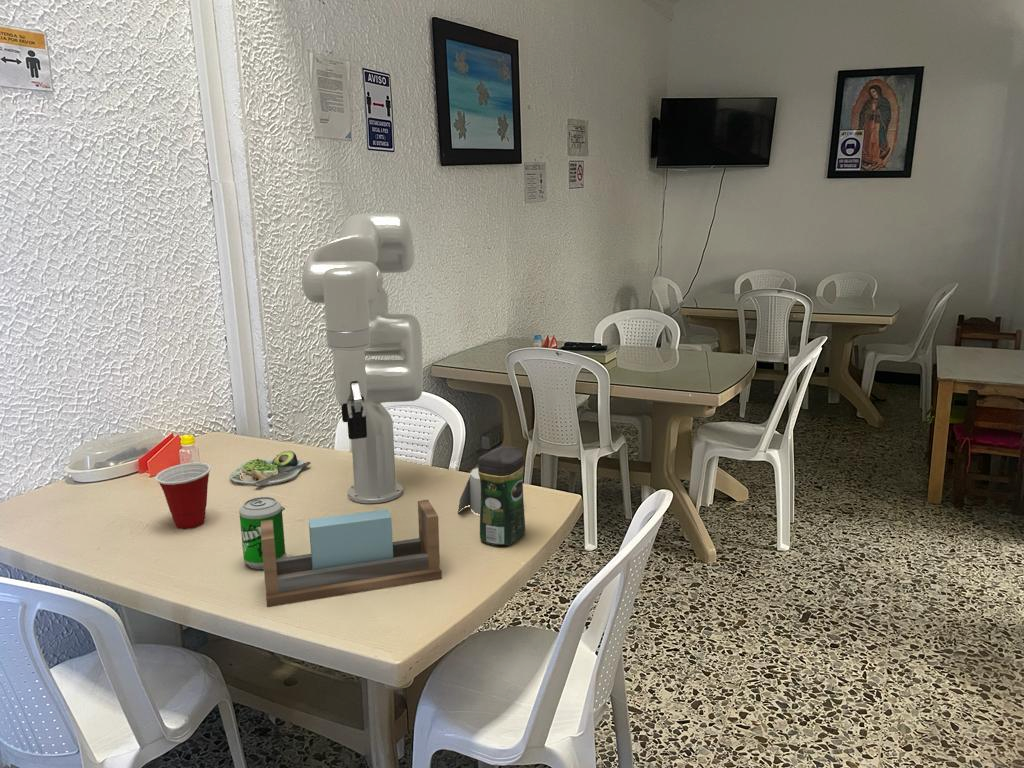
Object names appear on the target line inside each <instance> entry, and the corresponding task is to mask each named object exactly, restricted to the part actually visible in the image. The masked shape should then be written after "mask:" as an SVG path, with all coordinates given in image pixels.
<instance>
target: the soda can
mask: <svg viewBox="0 0 1024 768" xmlns="http://www.w3.org/2000/svg"><path fill="white" fill-rule="evenodd" d="M282 508H283V506H282V504H281V502H279V501H278V500H277V499H276V498H275V497H272V496H260V497H252V498H250V499H247V500H246V501H244V503H242V505H241V506H240V508H239V509H238V512H239V523H240V531H241V532H240V534H241V544H242V554H243V555H242V557H243V562H244V563H245V564H246V565H248V566H249V567H250V568H251V569H254V570H264V564H263V553H262V541H261V521H265V520H273V530H274V542H275V553H276V559H277V558H284V557H286V545H285V543H286V542H285V531H284V520H283V509H282Z"/></svg>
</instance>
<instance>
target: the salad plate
mask: <svg viewBox="0 0 1024 768" xmlns="http://www.w3.org/2000/svg"><path fill="white" fill-rule="evenodd" d="M310 465H311V461H306V462H304V461H303V460H301V459H298V456H297V455H296V453H295V452H294V451H291V450H287V451H286V450H284V451H283V452H282V451H281V452H280V453H279V454H277V455H276V456H275V457H274V458H255V459H252V460H248V461H245V462H243V463H242V464H240V465H239V466H238V467H237V468H236V469H235V470H234V471H233V472H231V474H230V475H229V480H230V481H232V483H235V484H237V485H239V484H240V486H244V485H255V486H254V487H267V486H266V485H268V486H273V485H278V484H282V482H283V483H286V482H290V481H292V480H294V479H295V478H296V477H297V476H298V475H299V474H300V473H301V471H303V470H304V469H305V468H307V467H308V466H310ZM242 473H246V474H245V475H247V474H249V475H248V476H252V475H253V476H252V477H254V479H256V481H255V480H248V481H247V480H244V481H243V480H241V479H240V475H242ZM277 483H278V484H277ZM272 484H273V485H272Z"/></svg>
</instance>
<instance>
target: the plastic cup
mask: <svg viewBox="0 0 1024 768" xmlns="http://www.w3.org/2000/svg"><path fill="white" fill-rule="evenodd" d="M211 468H212V467H211V465H210V464H209V463H206V462H197V461H195V462H187V463H181V464H177V465H173V466H169V467H168V468H165V469H162V470H161V471H160V472H158V473H157V474H156V476H155V478H154V479H155V481H156V482H157V483H158V484H159V485H160V487H161V490H162V491H163V494H164V498H165V501H166V503H167V507H168V509H169V511H170V514H171V517H172V521H173V523H174V526H175V527H176V528H177V529H180V528H183V529H182V530H188V529H187V528H190V529H193V527H195V528H197V526H198V527H200V526H202V525H203V524H204V523H205V520H206V511H207V504H208V503H207V501H208V488H209V487H208V486H209V478H210V471H211Z"/></svg>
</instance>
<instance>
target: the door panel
mask: <svg viewBox="0 0 1024 768" xmlns="http://www.w3.org/2000/svg"><path fill="white" fill-rule="evenodd" d="M392 520H393V519H392V515H391V513H390V510H389V509H388V508H386V509H385V508H384V509H378V510H377V509H376V510H371V511H362V512H354V513H347V514H340V515H331V516H323V517H314V518H308V530H309V531H308V532H309V544H310V554H311V559H312V570H318V569H325V568H331V567H338V566H345V565H351V564H358V563H365V562H371V561H378V560H385V559H391V558H393V542H394V541H393V525H392V524H393V522H392Z"/></svg>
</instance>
